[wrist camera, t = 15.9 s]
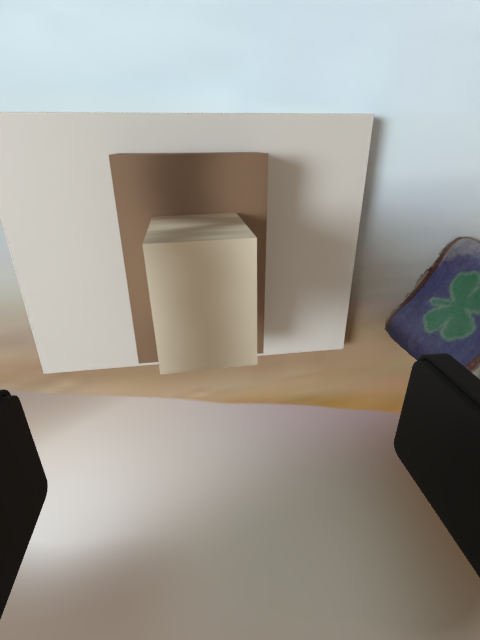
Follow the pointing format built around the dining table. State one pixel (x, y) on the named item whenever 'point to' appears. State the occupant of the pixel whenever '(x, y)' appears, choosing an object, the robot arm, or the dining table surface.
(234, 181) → the plinth
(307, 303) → the plate
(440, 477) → the robot arm
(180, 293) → the birch block
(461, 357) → the flask
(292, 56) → the dining table surface
